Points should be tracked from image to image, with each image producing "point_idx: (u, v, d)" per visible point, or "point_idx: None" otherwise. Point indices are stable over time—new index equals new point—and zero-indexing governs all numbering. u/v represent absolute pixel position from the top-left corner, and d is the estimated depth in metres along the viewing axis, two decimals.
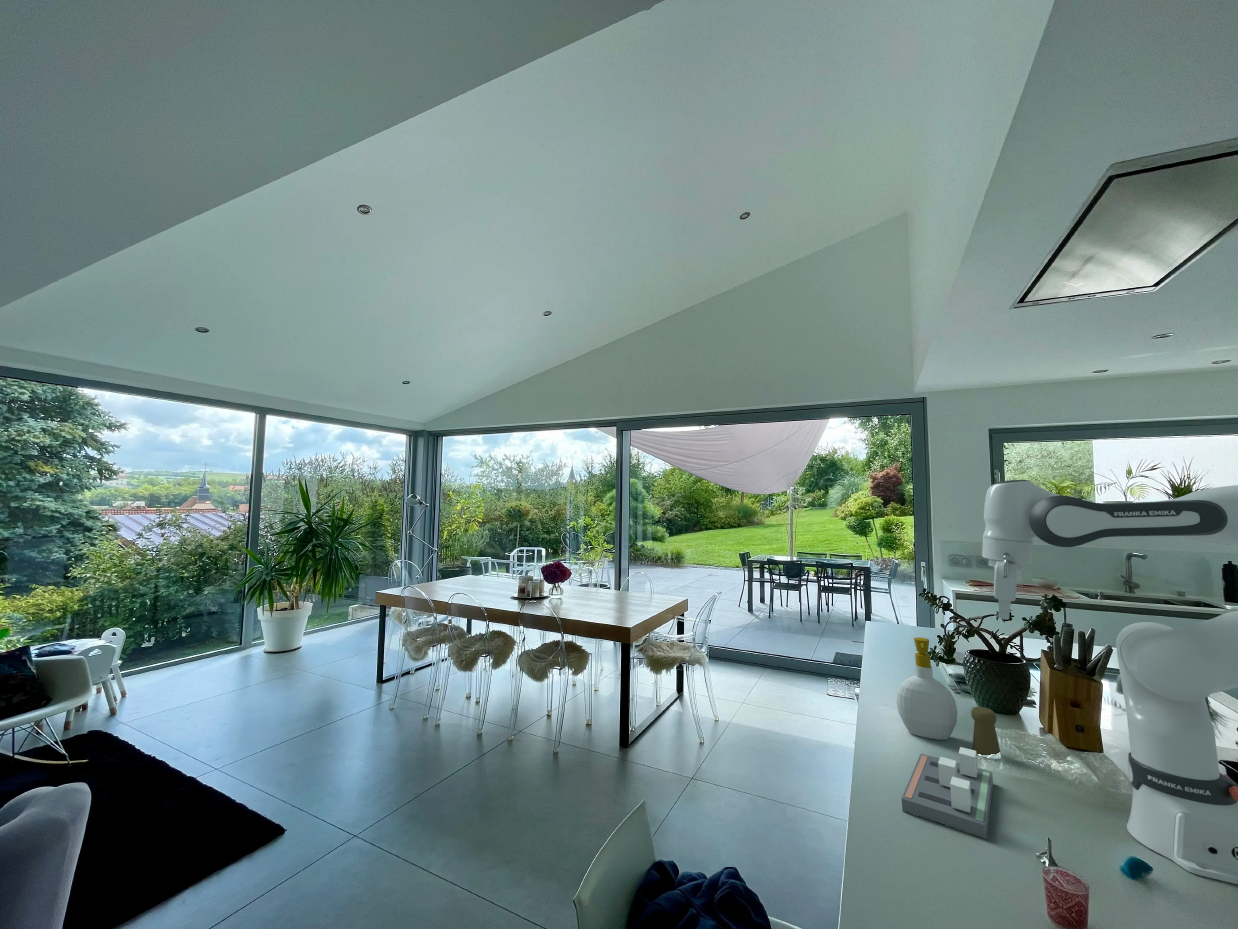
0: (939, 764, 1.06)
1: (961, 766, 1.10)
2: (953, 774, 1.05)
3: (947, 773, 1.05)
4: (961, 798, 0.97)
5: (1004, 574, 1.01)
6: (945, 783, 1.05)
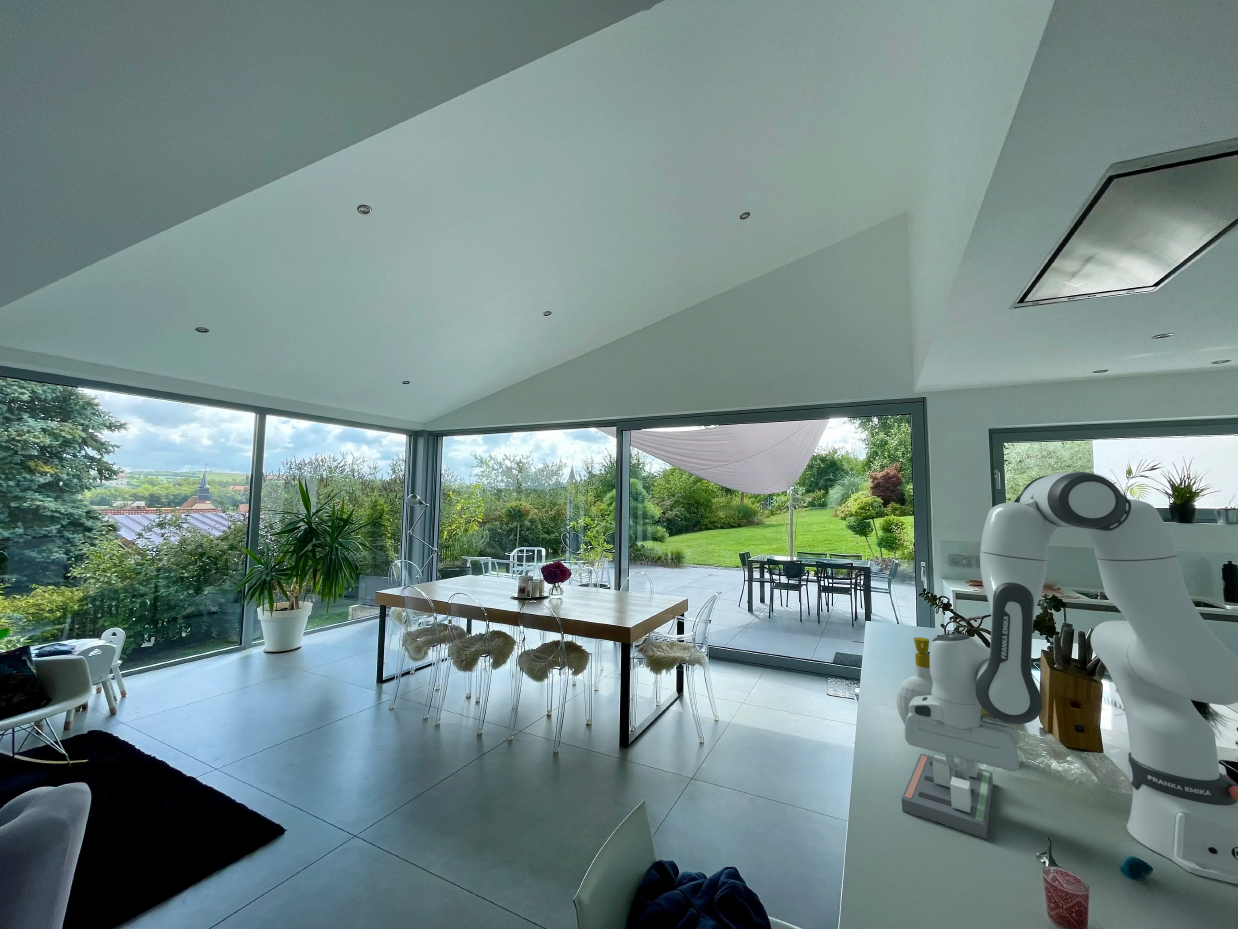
0: (934, 763, 1.07)
1: (961, 766, 1.10)
2: (947, 772, 1.05)
3: (941, 772, 1.06)
4: (961, 798, 0.97)
5: (1017, 743, 1.00)
6: (939, 781, 1.06)
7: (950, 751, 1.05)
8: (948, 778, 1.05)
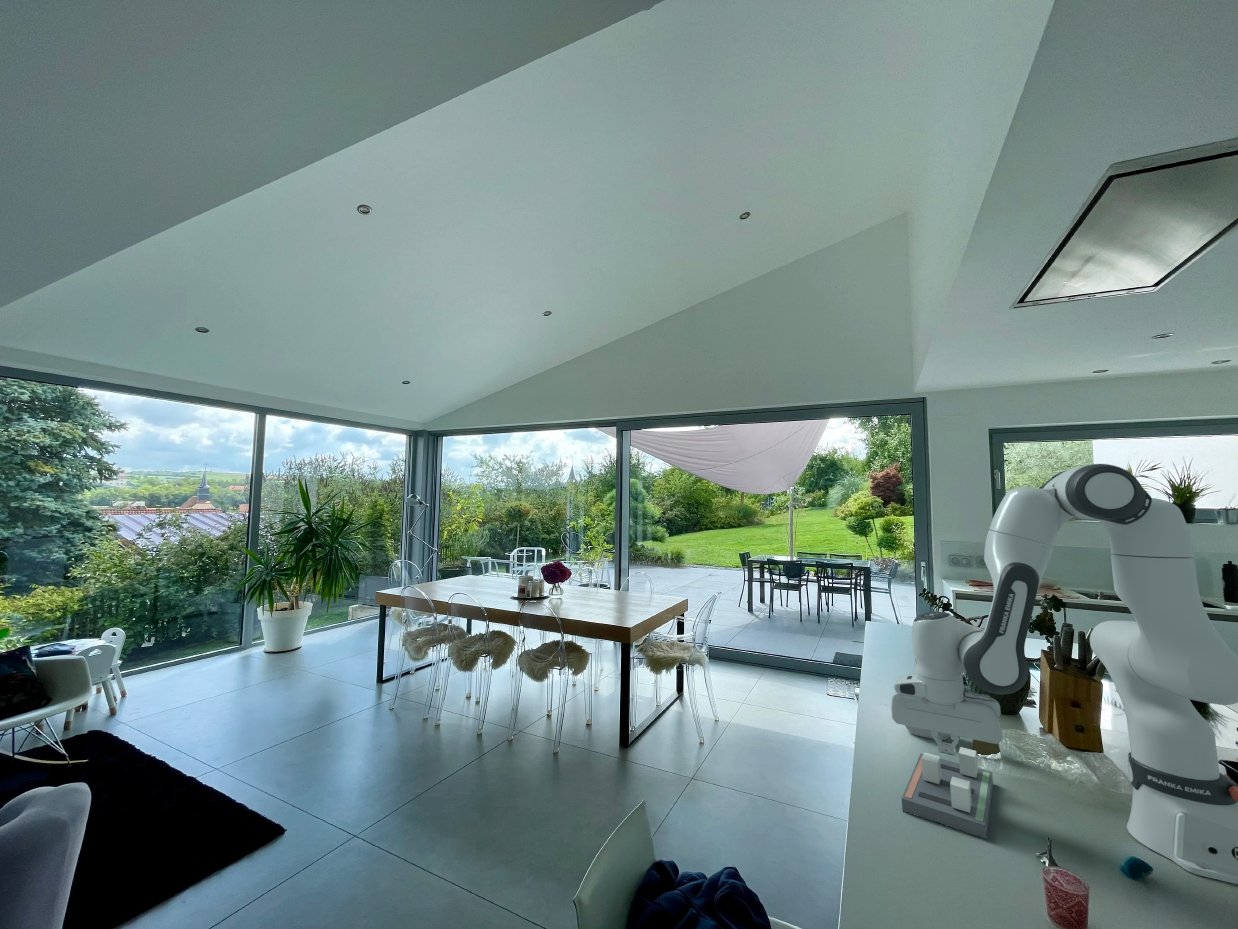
0: (923, 760, 1.08)
1: (961, 766, 1.10)
2: (936, 769, 1.07)
3: (930, 769, 1.07)
4: (961, 798, 0.97)
5: (999, 716, 1.02)
6: (928, 778, 1.07)
7: (935, 727, 1.07)
8: (937, 775, 1.07)
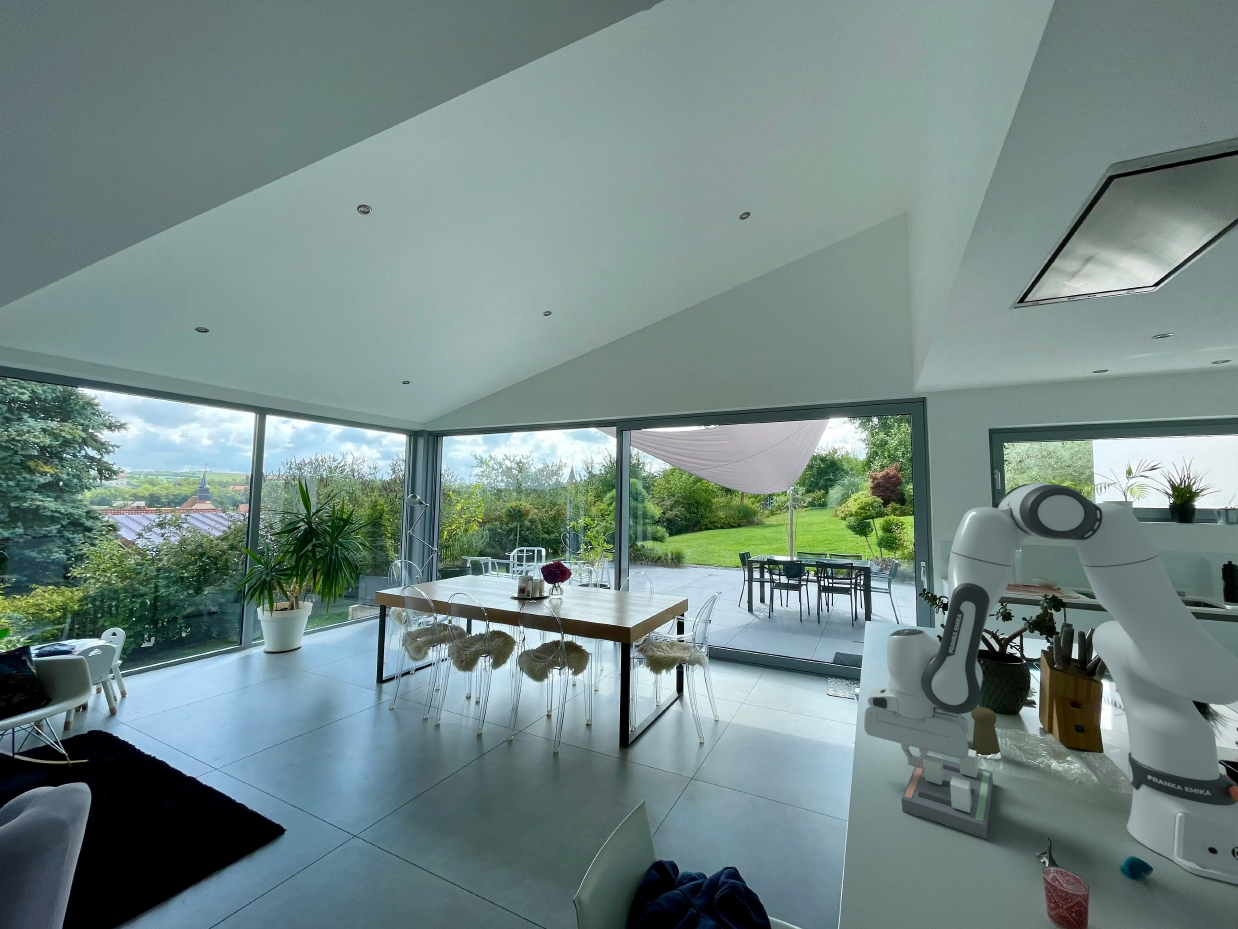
0: (925, 760, 1.08)
1: (961, 766, 1.10)
2: (938, 770, 1.06)
3: (933, 769, 1.07)
4: (961, 798, 0.97)
5: (966, 732, 1.05)
6: (931, 779, 1.07)
7: (905, 740, 1.11)
8: (939, 775, 1.06)
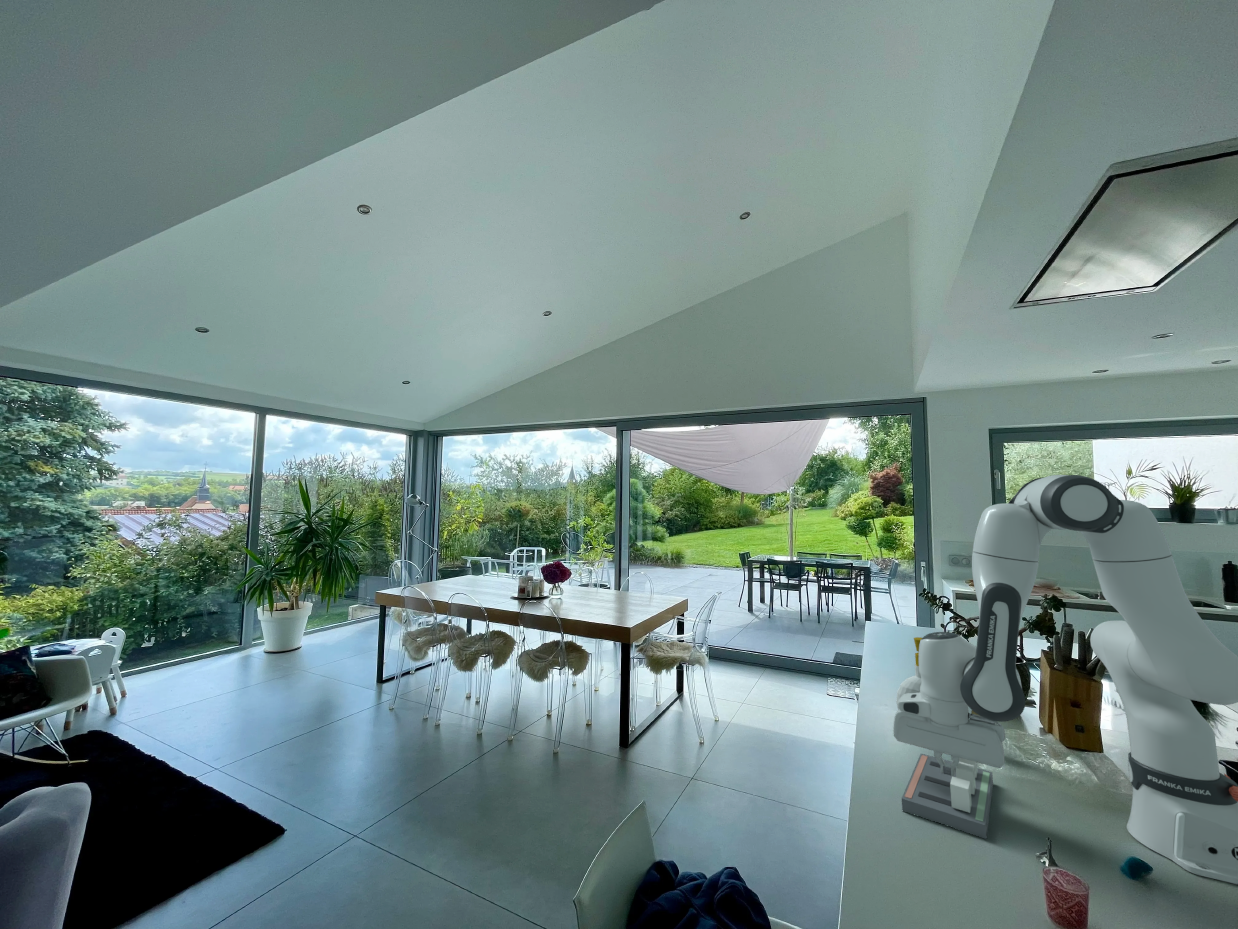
0: (956, 769, 1.04)
1: None
2: (971, 779, 1.03)
3: (965, 778, 1.03)
4: (961, 798, 0.97)
5: (1003, 740, 1.01)
6: None
7: (937, 747, 1.07)
8: (972, 785, 1.03)
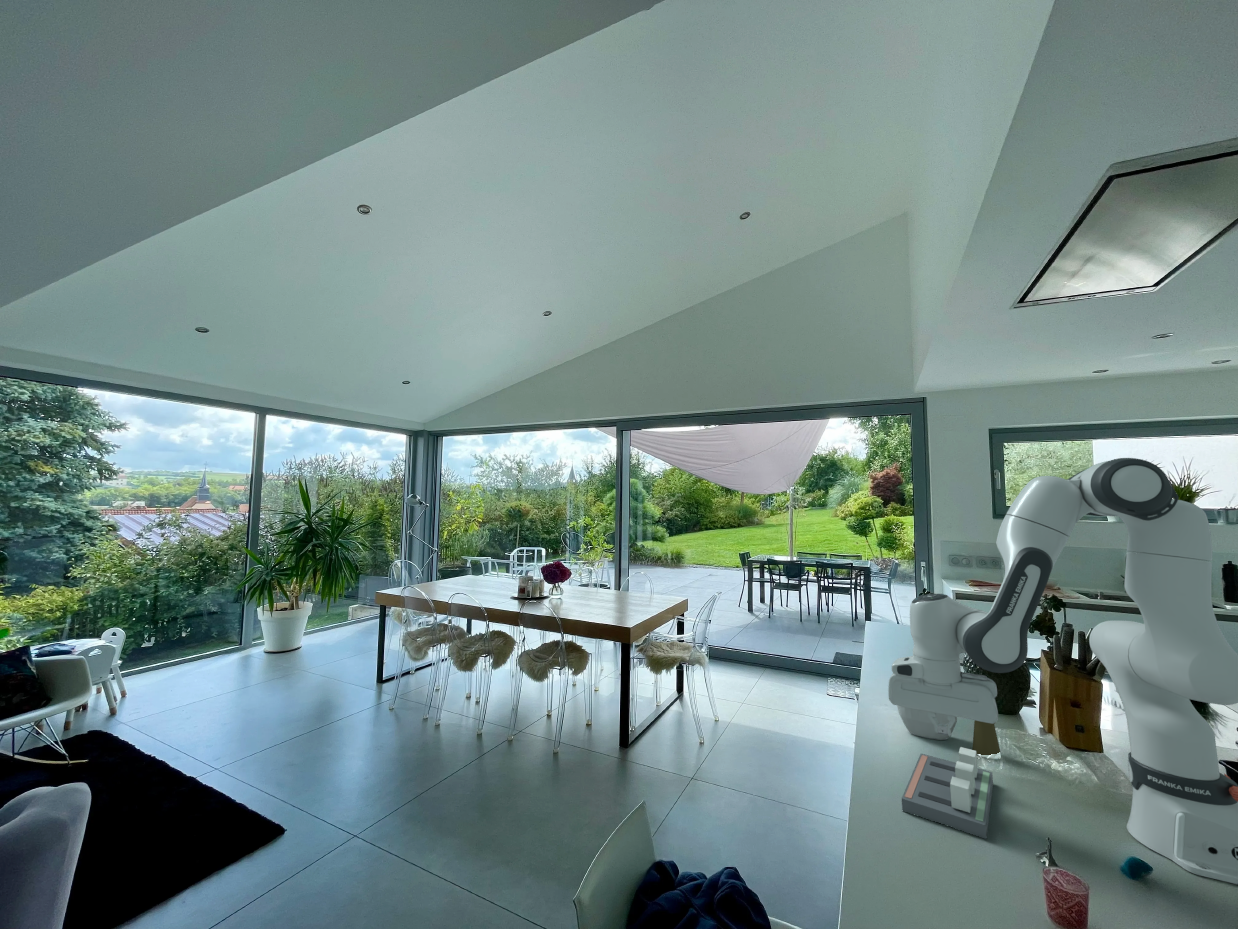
0: (956, 769, 1.04)
1: None
2: (971, 779, 1.03)
3: (964, 778, 1.03)
4: (961, 798, 0.97)
5: None
6: None
7: (932, 708, 1.08)
8: (971, 785, 1.03)
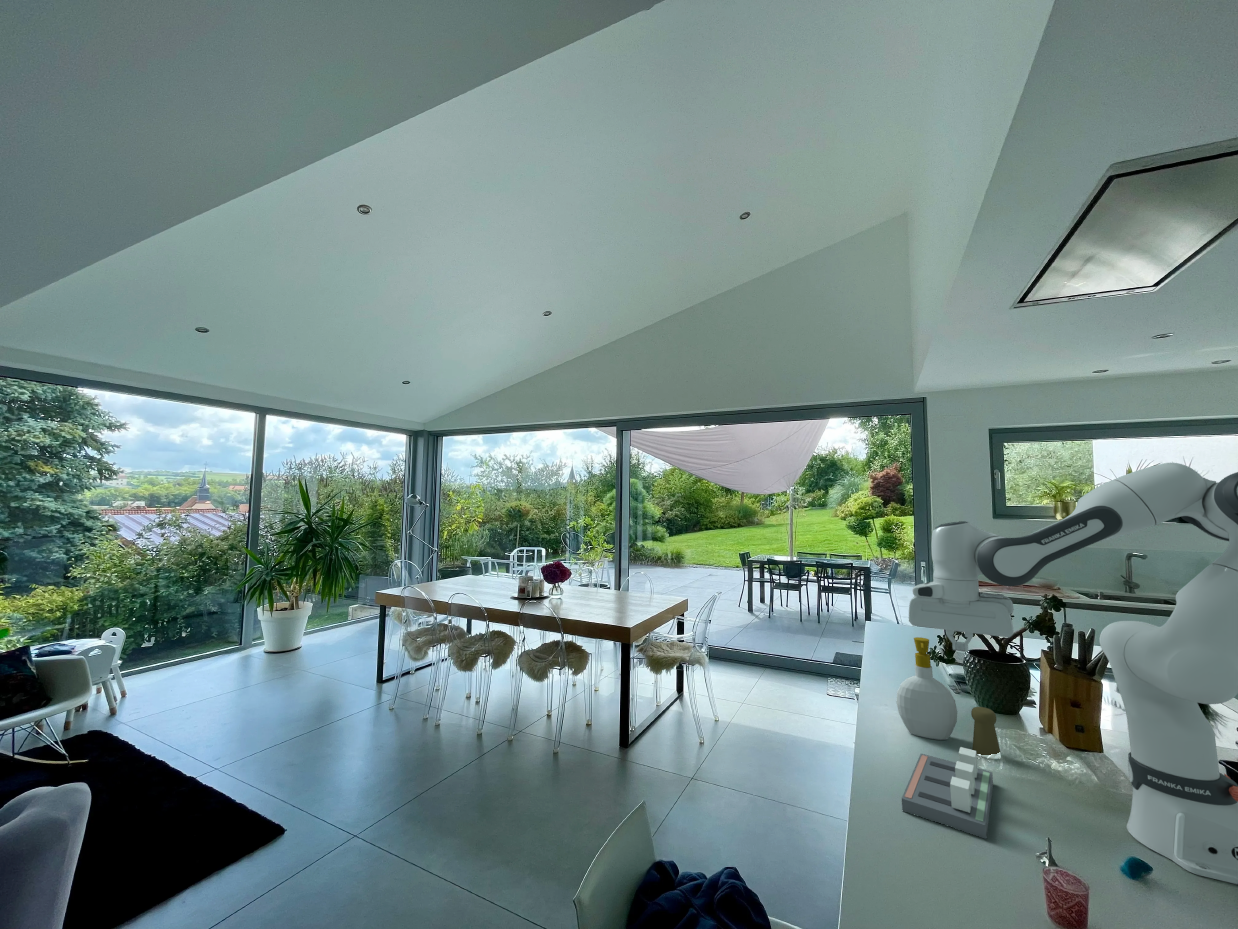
0: (956, 769, 1.04)
1: None
2: (971, 779, 1.03)
3: (964, 778, 1.03)
4: (961, 798, 0.97)
5: (1012, 612, 1.09)
6: None
7: (950, 626, 1.15)
8: (971, 785, 1.03)
